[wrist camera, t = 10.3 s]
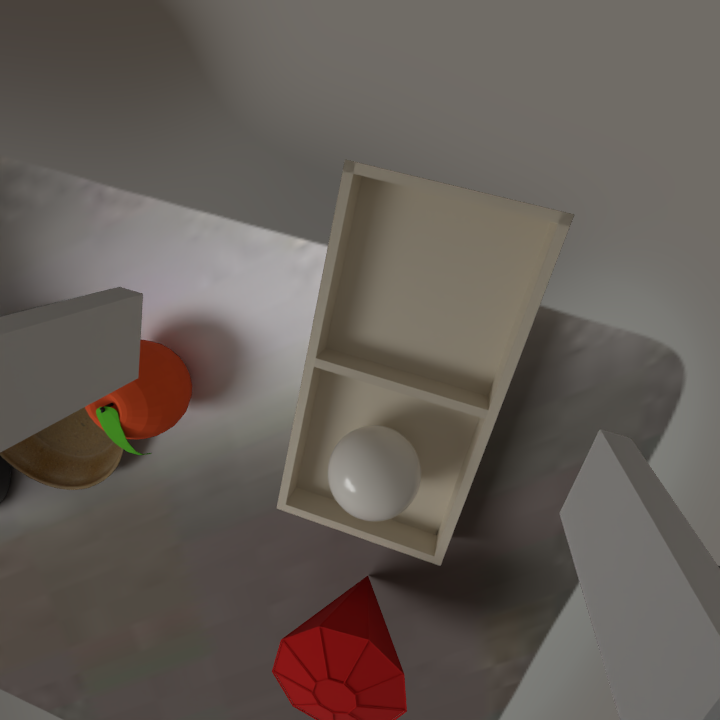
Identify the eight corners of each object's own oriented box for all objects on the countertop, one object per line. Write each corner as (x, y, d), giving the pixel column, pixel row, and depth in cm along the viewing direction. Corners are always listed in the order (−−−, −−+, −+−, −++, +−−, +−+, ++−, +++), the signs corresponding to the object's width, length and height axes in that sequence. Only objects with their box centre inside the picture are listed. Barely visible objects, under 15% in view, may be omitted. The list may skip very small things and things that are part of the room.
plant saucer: (177, 399, 37) (156, 413, 34) (97, 502, 42) (75, 521, 40) (31, 272, 36) (0, 277, 33) (-30, 394, 41) (-61, 406, 39)
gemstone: (308, 525, 37) (255, 631, 28) (418, 534, 35) (399, 652, 26) (320, 611, 40) (275, 735, 31) (422, 624, 38) (407, 760, 29)
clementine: (225, 421, 36) (170, 470, 29) (151, 429, 38) (83, 477, 31) (194, 322, 34) (126, 351, 27) (116, 335, 36) (36, 366, 29)
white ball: (333, 470, 34) (307, 522, 29) (351, 399, 32) (325, 441, 26) (412, 496, 33) (400, 556, 28) (436, 425, 31) (428, 474, 26)
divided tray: (291, 484, 36) (276, 508, 34) (357, 163, 28) (345, 159, 25) (442, 536, 35) (440, 565, 32) (563, 212, 26) (574, 214, 23)
